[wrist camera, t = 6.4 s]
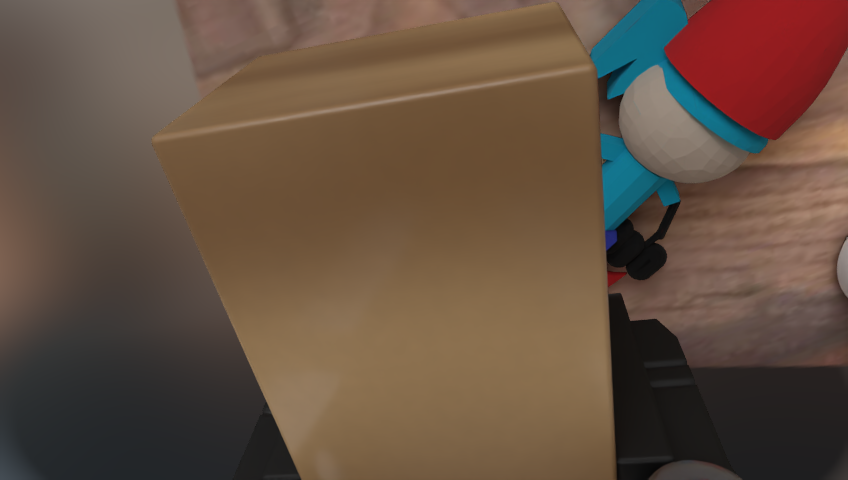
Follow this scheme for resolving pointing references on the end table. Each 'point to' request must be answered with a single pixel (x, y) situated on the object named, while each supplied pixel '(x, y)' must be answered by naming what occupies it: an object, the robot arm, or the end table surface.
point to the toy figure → (703, 100)
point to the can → (843, 268)
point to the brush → (414, 247)
